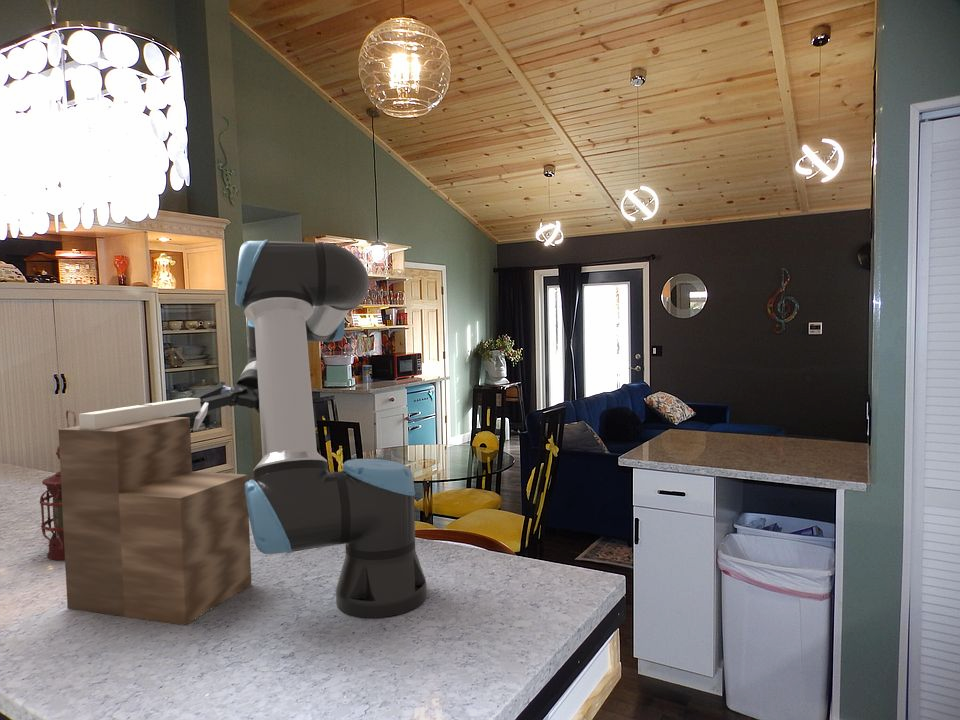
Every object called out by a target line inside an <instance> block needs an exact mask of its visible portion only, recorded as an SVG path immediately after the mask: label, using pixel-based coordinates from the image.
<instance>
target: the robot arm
mask: <svg viewBox="0 0 960 720" xmlns="http://www.w3.org/2000/svg"><path fill="white" fill-rule="evenodd" d="M237 263H238V264H237V270H236V271H237V272H236V284H235V286H236V287H235V297H234V305H235V306H237V307H240V308H244V310H243V311H244V316H245V318H246V319H247V336H248V337H247V339H248V346H247V347H248V361H247V363H246V365H245V367H244V369H243V371H242V372H241V374H240V376H239V377H238V379H237V381H236V383H235V385H234V386H231V387H230V386H226V382H224V381H219V382H218V383H217V384H216V385H214V386H212V387H209V388H208V389H204V390H202V391H200V392H198V393H196V394H193V395H191V398H200V405H201V411H196V412H193V418H194V421H193V428H192V430H193V431H198V430H199V428H200V426H201V425H202V423H203V421H204V419H205V418H206V416H207V414H208V411H211V410H215V409H220V408H224V407H227V406H229V407H234V406H240V407H246V408H249V409H254V410H255V411H256V412H257V413H258V414H259V417H260V418H259V419H260V420H259V421H260V422H259V423H260V433H261V434H260V435H261V450H262V451H261V453H262V458H261V460H260V461H259V462H258V463H257V465H256V466H255V467H254V468H253V472H252V473H253V478H252V479H248V482H246V483H245V495H246V500H247V508H248V514H249V525H250V528H251V533H252V537H253V541H254V543H255V546H256V549H257V550H258V551H259V552H260V553H262V554H264V555H275V554H276V555H277V554H285V553H286V554H291V553H293V552H299V551H306V550H312V549H319V548H325V547H332V546H337V545H345V558H344V561H343V564H342V568H341V571H340V575H339V577H338V578H339V579H338V581H337V584H336V588H335V589H336V590H335V601H336V605H337V608H338V609H339V610H340V611H341V612H343V613H345V614H349V615H351V616H355V617H362V618H386V617H391V616H397V615H400V614H404V613H407V612H409V611H413V610H414V609H416V608H418V607H420V606H421V605H422V604H423V603H424V602H425V601H426V599H427V593H428V590H427V589H428V587H427V580H426V576H425V573H424V570H423V569H422V565H421V563H420V562H421V561H420V559H419V557H418V555H417V551H416V530H415V529H416V522H415V519H416V518H415V495H416V491H415V483H414V475H413V472H412V469H410V467H408V466H407V465H406V464H402V463H400V462H397V461H392V460H387V459H376V458H354V459H348V460H346V461H344V462H343V465H342V466H341V471H334V472H333V471H331V472H330V471H329V463H328V460H327V459H326V458H325V457H324V456H322V455H321V454H320V453H319V452H318V450H317V448H318V447H317V436H316V425H315V416H314V413H315V412H314V403H313V394H312V393H313V392H312V381H311V379H312V378H311V371H310V370H311V368H310V359H309V357H310V356H309V346H308V343H313V342H314V343H317V342H318V343H320V342H321V343H322V342H323V343H324V342H325V343H331V342H339V341H341V340H343V339H344V335H345V333H346V332H345V328H346V327H345V326H346V325H345V318H346V316H347V315H348V314H349V312H350V311H352V310H355V309H356V308H358V306H360V305H361V304H362V303H363V301H364V299H365V298H366V297H367V295H368V292H369V289H370V278H369V274H368V271H367V269H366V267H365V265H364V263H363V262H362V261H361V260H360V259H359V257H357V255H355V254H354V253H353V252H352V251H350V250H348V249H346V248H345V247H342V246H341V245H337V244H334V243H330V242H311V241H309V242H308V241H307V242H306V241H282V240H281V241H278V240H276V241H274V240H269V239H264V240H248V241H245V242H243V243H242V244H241V246H240V248H239V252H238V262H237Z"/></svg>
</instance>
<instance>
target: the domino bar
mask: <svg viewBox="0 0 960 720" xmlns="http://www.w3.org/2000/svg"><path fill="white" fill-rule="evenodd" d="M196 411H201V405H200V398H192V397H185V398H177V399H172V400H171V399H170V400H165V401H156V402H150V403H143V404H136V405H130V406H123V407H117V408H111V409H102V410H97V411H96V410H95V411H90V412H84V413H78V417H79V418H78V421H79V422H78V423H79V426H80V429H92V430H95V429H101V428H107V427H112V426H118V425H123V424H129V423H134V422H140V421H146V420H151V419H157V418H162V417H174V416H178V415H183V414H189V413H190V414H191V413H194V412H196Z"/></svg>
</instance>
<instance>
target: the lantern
mask: <svg viewBox="0 0 960 720" xmlns="http://www.w3.org/2000/svg"><path fill="white" fill-rule="evenodd" d="M69 413H71V414H72V415H73V427H76V426H77V416H76V412H75V411H73V410H72V409H67V410H66V412H65V420H66V421H65V422H66V428H70V422H69ZM55 455H56V456H57V459H58V460H60V452H59V445H58V446H57V450H56V453H55ZM41 484H43V485H44V486H45V487H46V491H44V492H43V493H42V494H41V495H40V499H39V504H40V510H41V512H40V513H41V525H40V528H41V532H42V536H43V537H44V538H45V539H46V540H48V553H47V558H48V559H50V560H52V561H65V549H64V530H63V511H62V491H61V472H60V471H57V472H56V473H55V474H52V475H50V476H49V477H46V478H44V479H42V483H41ZM45 494H46V496H45ZM51 498H52V502H50V499H51ZM45 506H46V508H47V509H46V510H47V520H45V511H44V507H45ZM50 507H52V518H51V511H50ZM52 522H53V527H52ZM46 525H47V526H46ZM46 531H49V532H50V533H51V538H49V537H48V536H47V534H46Z"/></svg>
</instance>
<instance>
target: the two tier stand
mask: <svg viewBox="0 0 960 720" xmlns="http://www.w3.org/2000/svg"><path fill="white" fill-rule="evenodd" d="M57 431H58V446H59V452H60V459H59V466H60V467H59V468H60V471H59V472H61V491H62V511H63V530H64V549H65V560H64V563H65V565H64V566H65V586H66V587H65V588H66V604H67V605H66V606H67V609H72V610H76V611H77V610H79V611H85V612H90V611H91V612H92V613H97V612H99V614H104V613H106V614H105V615H112V616H118V617H119V616H120V617H125V618H132V619H139V620H145V621H153V622H161V623H167V624H173V625H180V624H184V625H183V626H187V625H188V624H187V623H189V622H190V623H192V622H193V621H195V620H196V619H195V618H197V617H198V616H200V615H201V614H203V613H205V612H206V613H208V612H209V611H208V610H210V609H211V608H213V607H214V608H216V607H217V606H216V605H218V604H219V605H221V604H222V603H224V602H225V600H226V601H227V600H228V598H229V599H231V598H232V597H233V595H234V596H235V595H237V594H238V592H239V591H240V592H242V591H244V590H245V589H247V588H249V587H250V586H251V585H252V565H251V564H252V563H251V562H252V561H251V560H252V559H251V542H250V541H251V539H250V536H251V535H250V519H249V514H248V508H247V500H246V495H245V483H246V482H248V481H249V479H248V474H244V473H243V474H242V473H241V474H240V473H225V472H223V473H222V472H208V471H207V472H206V471H194V470H193V466H192V465H193V463H192V462H193V461H192V440H191V439H192V437H191V435H192V434H191V417H186V416H185V417H184V416H183V417H180V416H168V417H162V418H157V419H151V420H146V421H140V422H134V423H129V424H123V425H118V426H112V427H107V428H101V429H95V430H92V429H80V425H76V427H74V426H69V428H67V427H65V428H58V430H57ZM246 587H247V588H246ZM241 590H242V591H241ZM240 592H239V593H240ZM230 597H231V598H230ZM223 601H224V602H223ZM221 602H222V603H221ZM220 603H221V604H220ZM219 605H218V606H219ZM215 606H216V607H215ZM214 608H213V609H214ZM211 610H212V609H211ZM211 610H210V611H211ZM207 611H208V612H207ZM206 613H205V614H206ZM203 615H204V614H203ZM200 617H201V616H200ZM198 618H199V617H198ZM198 618H197V619H198ZM194 619H195V620H194ZM191 621H192V622H191ZM190 623H189V624H190ZM186 624H187V625H186Z"/></svg>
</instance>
